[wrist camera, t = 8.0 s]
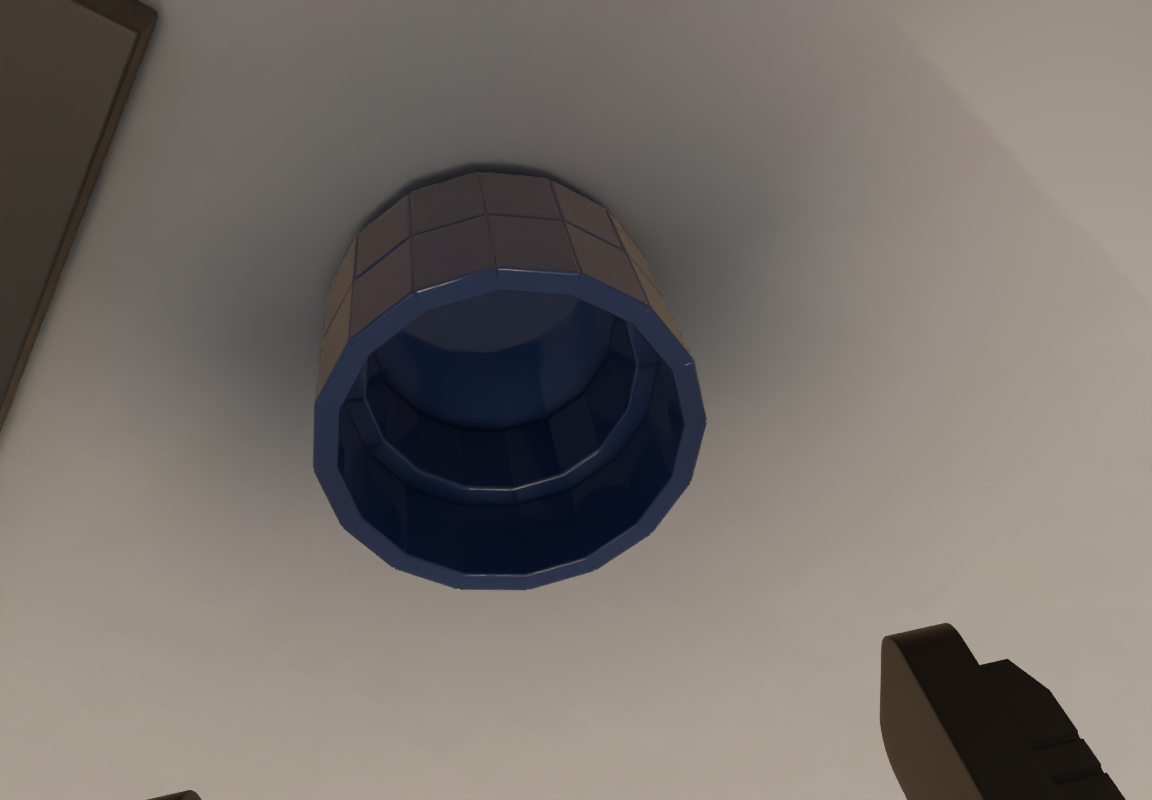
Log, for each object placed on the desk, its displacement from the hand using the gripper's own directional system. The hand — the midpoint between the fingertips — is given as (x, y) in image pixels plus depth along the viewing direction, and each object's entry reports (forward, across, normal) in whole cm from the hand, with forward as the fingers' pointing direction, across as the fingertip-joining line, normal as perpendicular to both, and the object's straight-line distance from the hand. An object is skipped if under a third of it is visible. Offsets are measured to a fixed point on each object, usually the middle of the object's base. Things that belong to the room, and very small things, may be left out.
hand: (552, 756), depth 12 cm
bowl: (+10, 0, 0) cm, 11 cm away
